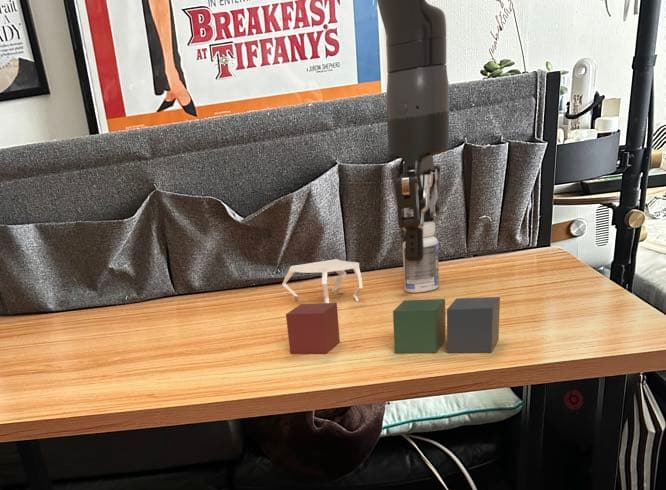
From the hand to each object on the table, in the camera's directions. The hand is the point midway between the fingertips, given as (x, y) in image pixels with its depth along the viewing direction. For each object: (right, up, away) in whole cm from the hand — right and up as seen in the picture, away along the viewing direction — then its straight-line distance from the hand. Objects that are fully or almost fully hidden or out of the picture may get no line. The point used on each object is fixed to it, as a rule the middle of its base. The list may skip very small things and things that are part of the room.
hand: (420, 254), depth 98 cm
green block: (-5, -18, -21) cm, 28 cm away
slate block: (0, -19, -23) cm, 30 cm away
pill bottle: (+1, -4, +2) cm, 5 cm away
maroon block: (-16, -17, -16) cm, 28 cm away
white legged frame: (-13, -5, +5) cm, 14 cm away
